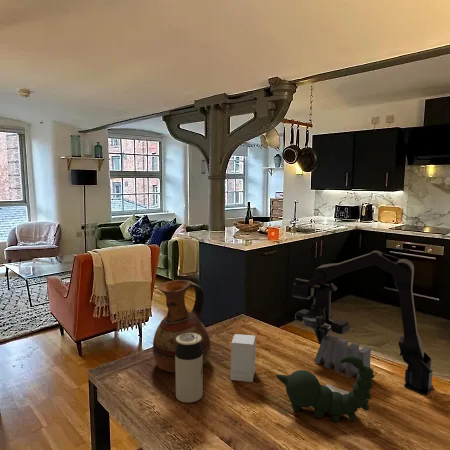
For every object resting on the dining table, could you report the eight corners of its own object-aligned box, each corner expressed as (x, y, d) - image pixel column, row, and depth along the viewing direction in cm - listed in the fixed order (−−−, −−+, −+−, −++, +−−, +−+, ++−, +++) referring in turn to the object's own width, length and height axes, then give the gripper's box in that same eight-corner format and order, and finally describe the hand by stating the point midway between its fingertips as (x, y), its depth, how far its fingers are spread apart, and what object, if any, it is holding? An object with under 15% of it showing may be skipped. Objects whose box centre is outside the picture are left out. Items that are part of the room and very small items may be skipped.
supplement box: (253, 382, 114) (253, 344, 113) (230, 380, 116) (230, 342, 114) (255, 371, 121) (256, 335, 120) (234, 368, 123) (234, 333, 121)
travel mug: (172, 402, 104) (171, 342, 102) (180, 386, 112) (179, 331, 110) (199, 405, 102) (198, 344, 100) (205, 389, 110) (205, 333, 108)
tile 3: (346, 368, 123) (348, 340, 122) (339, 373, 120) (340, 344, 119) (341, 366, 125) (343, 338, 123) (334, 371, 121) (335, 342, 120)
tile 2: (336, 363, 126) (339, 337, 124) (328, 368, 123) (332, 341, 121) (331, 361, 127) (335, 335, 126) (323, 366, 124) (327, 339, 122)
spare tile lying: (359, 401, 105) (359, 396, 105) (353, 409, 101) (353, 403, 101) (327, 389, 111) (327, 383, 111) (319, 396, 108) (320, 390, 107)
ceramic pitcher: (142, 362, 127) (140, 279, 123) (188, 345, 140) (188, 270, 137) (174, 385, 112) (173, 292, 109) (222, 364, 126) (222, 280, 122)
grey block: (357, 372, 120) (359, 344, 119) (350, 378, 117) (351, 348, 116) (352, 370, 122) (354, 342, 121) (345, 375, 118) (346, 346, 117)
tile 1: (326, 359, 129) (334, 337, 126) (318, 364, 126) (327, 341, 122) (321, 356, 130) (330, 334, 127) (314, 361, 127) (322, 338, 124)
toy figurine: (364, 416, 100) (275, 393, 107) (374, 353, 98) (282, 333, 105) (366, 439, 91) (269, 412, 98) (377, 370, 89) (277, 347, 96)
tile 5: (369, 377, 117) (370, 348, 116) (362, 383, 114) (363, 353, 113) (364, 375, 119) (365, 346, 118) (356, 380, 115) (358, 351, 114)
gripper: (286, 300, 127) (285, 342, 129) (334, 313, 113) (332, 361, 115) (304, 293, 134) (303, 333, 136) (351, 305, 121) (349, 350, 123)
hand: (320, 344), depth 127 cm, fingers closed
